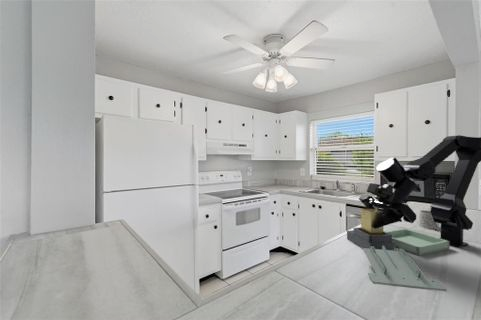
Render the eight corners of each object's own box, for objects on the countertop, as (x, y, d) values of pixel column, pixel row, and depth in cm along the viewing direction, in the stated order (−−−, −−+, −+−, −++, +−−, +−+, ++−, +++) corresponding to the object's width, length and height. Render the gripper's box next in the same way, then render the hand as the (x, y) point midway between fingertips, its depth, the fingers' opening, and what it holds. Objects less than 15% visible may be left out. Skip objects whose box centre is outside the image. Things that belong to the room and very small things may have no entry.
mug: (441, 230, 88) (441, 214, 88) (420, 227, 92) (420, 212, 92) (435, 225, 96) (435, 210, 96) (416, 222, 100) (417, 208, 100)
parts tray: (404, 234, 82) (405, 228, 82) (449, 248, 70) (449, 241, 70) (376, 239, 77) (376, 232, 77) (418, 255, 64) (418, 247, 64)
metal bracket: (354, 240, 61) (413, 244, 59) (352, 256, 63) (409, 262, 60) (375, 280, 48) (453, 288, 45) (372, 300, 49) (446, 309, 47)
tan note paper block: (372, 234, 73) (373, 208, 73) (383, 239, 69) (383, 211, 69) (360, 235, 73) (361, 209, 73) (370, 240, 68) (371, 212, 68)
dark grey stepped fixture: (368, 238, 78) (368, 224, 78) (394, 251, 67) (394, 235, 67) (346, 238, 77) (347, 225, 77) (370, 252, 66) (370, 236, 66)
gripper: (363, 173, 81) (336, 202, 79) (408, 177, 62) (373, 215, 61) (382, 193, 82) (355, 223, 80) (431, 203, 63) (398, 242, 62)
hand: (368, 225), depth 71 cm, fingers open, 5 cm apart
